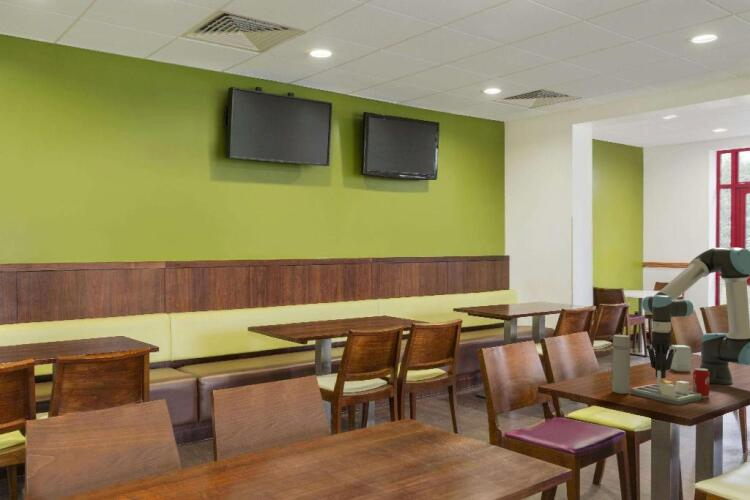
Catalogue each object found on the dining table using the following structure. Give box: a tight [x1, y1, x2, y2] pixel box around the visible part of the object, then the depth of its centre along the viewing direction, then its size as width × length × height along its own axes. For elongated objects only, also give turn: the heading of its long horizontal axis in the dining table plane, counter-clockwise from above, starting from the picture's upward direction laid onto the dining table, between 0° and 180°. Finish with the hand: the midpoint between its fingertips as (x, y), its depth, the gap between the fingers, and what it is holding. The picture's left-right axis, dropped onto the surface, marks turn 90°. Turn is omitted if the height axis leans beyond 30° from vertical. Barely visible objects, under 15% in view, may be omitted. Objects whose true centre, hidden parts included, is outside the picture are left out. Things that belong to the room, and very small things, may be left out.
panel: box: [630, 383, 702, 406], centre depth 280 cm, size 17×22×2 cm
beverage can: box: [692, 367, 710, 399], centre depth 280 cm, size 6×6×12 cm
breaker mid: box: [659, 379, 674, 391], centre depth 279 cm, size 4×4×5 cm
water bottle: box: [607, 334, 631, 395], centre depth 287 cm, size 9×8×25 cm
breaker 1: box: [661, 383, 676, 397], centre depth 273 cm, size 4×4×5 cm
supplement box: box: [670, 344, 692, 372], centre depth 339 cm, size 7×7×13 cm
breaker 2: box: [675, 380, 691, 394], centre depth 279 cm, size 4×4×5 cm
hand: (660, 385), depth 282 cm, fingers closed
